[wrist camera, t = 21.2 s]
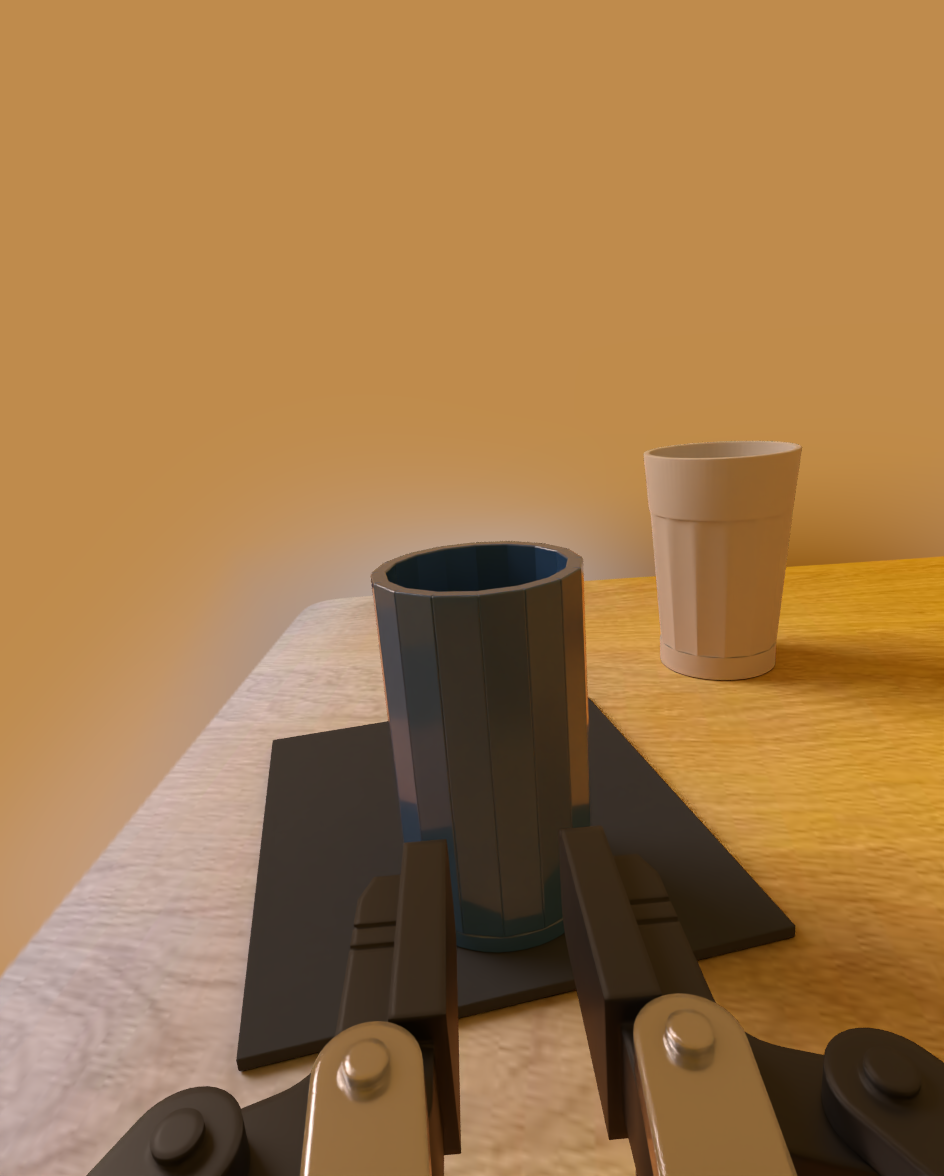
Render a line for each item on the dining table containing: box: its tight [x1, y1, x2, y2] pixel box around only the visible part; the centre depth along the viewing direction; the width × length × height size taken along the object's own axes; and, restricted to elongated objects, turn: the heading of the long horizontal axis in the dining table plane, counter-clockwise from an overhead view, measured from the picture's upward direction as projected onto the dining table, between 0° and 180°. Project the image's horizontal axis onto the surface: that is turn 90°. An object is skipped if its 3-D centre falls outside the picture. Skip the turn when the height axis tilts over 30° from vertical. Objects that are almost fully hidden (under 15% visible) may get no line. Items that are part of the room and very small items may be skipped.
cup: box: [644, 441, 802, 680], centre depth 40 cm, size 8×8×12 cm
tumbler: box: [371, 541, 592, 953], centre depth 23 cm, size 6×6×11 cm
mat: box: [236, 698, 795, 1071], centre depth 28 cm, size 16×18×1 cm
